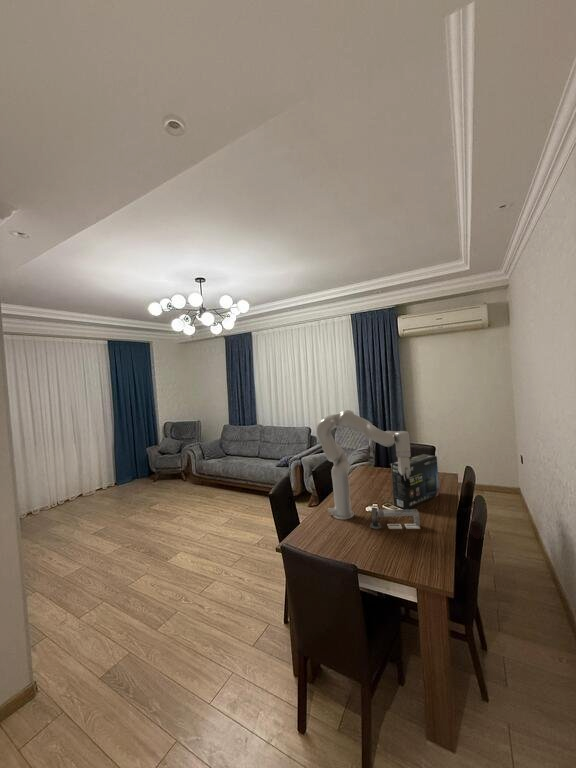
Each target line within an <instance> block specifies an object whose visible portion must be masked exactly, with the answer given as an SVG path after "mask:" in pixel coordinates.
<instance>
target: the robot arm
mask: <svg viewBox="0 0 576 768" xmlns="http://www.w3.org/2000/svg"><path fill="white" fill-rule="evenodd" d="M342 426H346V427H347V428H349V429H351V430H352V431H353V430H354V431H355V432H357V433H360V434H362V435H363V436H365V437H366V438H368V439H370V440H371V441H373V442H375V443H378V445H381V446H383V447H387V448H390V447H392V446H393V445H394V444H395V453H396V455H395V456H396V458H397V462H398V471H399V473H400V474H401V483H404V487H405V488H410V487H411V485H410V477H409V475H410V462H409V458H411V457H412V456H411V454H412V453H411V443H410V442H411V441H410V434H409V432H408V431H407V430H400V431H399V430H398V431H393V430H386V431H384V430H382V429H379V428H378V427H376V426H375V425H373V424H372V422H370V421H369V420H368V419H366V418H363V417H362V416H359V415H358V414H356V413H355V412H353V411H352V410H350V409H346V410H343V411H341V412H337V413H333V414H330V415H327V416H325V417H324V418H322V419H321V420H320V421H319V423H317V426H316V435H317V438H318V441H319V443H320V445H321V448H322V451H323V453H324V455H325V458H326V459H327V460H328V462H331V463H333V466H332V468H331V470H330V471H331V472H330V473H331V479H332V480H331V481H332V488H333V489H332V491H333V502H334V507H327V512H328V513H330V514H332V516H333V518H334V519H337V520H343V521H345V520H350V519H352V518H353V517H354V516H355V512H354V511H352V507H351V506H352V505H351V494H350V493H351V491H350V481H349V472H350V469H351V465H350V462H349V460H348V458H347V457H348V456H347V455H346V453H345V450H344V449H343V447H342V446H341V444H340V443H339V444H338V443H336V441H335V438H334V437H333V435H332V431H333V430H334V429H336V428H339V427H342Z"/></svg>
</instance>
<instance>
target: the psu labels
mask: <svg viewBox="0 0 576 768" xmlns="http://www.w3.org/2000/svg"><path fill="white" fill-rule="evenodd" d="M404 527H405V529H406V530H421V526H416V525H415V523H404ZM387 528H388V529H389V530H402V529H403V526H402V524H401V523H387Z"/></svg>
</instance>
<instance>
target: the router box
mask: <svg viewBox="0 0 576 768" xmlns="http://www.w3.org/2000/svg"><path fill="white" fill-rule="evenodd" d="M409 462H410V475H409V477H410V485H411V487H410V488H405V487H404V483H401V474H400V473H399V471H398V461H395V462H391V463H390V466H391V467H390V468H391V481H392V483H391V484H392V485H391V486H392V499H393V503H392V504H393V506H396V507H398V508H400V509H413V508H415V507H416V506H419V505H421V504H424V503H426V502H428V501H431V500H433V499H434V497H435V498H437V496H438V497H440V487H439V483H440V482H439V472H438V457H437V456H436V455H431V454H426V453H425V454H424V453H422V454H420V455H415V456H411V457H409Z"/></svg>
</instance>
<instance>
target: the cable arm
mask: <svg viewBox="0 0 576 768" xmlns="http://www.w3.org/2000/svg"><path fill="white" fill-rule="evenodd" d="M377 515H378V518H379V517H380V518H385V517H413V524H415V525H416V526H419V527H421V526H420V525H421V523H420V512H419V510H418V509H417V508H410V509H404V508H400V509H392V508H391V509H383V508H377Z"/></svg>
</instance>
